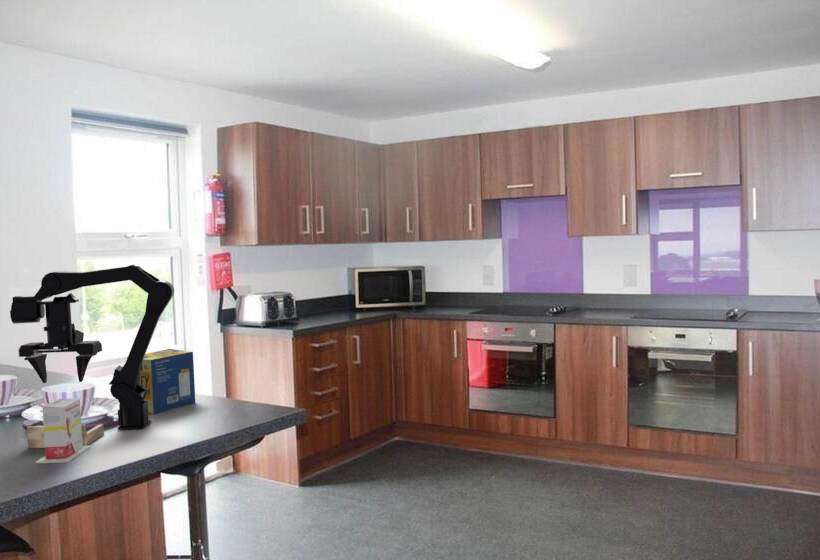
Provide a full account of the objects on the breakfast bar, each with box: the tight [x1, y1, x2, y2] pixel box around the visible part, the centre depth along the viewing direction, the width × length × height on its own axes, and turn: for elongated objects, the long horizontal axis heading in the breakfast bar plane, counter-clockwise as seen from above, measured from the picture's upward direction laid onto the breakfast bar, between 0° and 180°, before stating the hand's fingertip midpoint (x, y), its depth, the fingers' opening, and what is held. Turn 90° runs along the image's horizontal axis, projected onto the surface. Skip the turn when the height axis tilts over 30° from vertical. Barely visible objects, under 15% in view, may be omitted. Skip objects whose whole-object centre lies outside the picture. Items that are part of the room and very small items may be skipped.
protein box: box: [126, 348, 196, 415], centre depth 204 cm, size 10×15×16 cm
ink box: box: [42, 398, 83, 459], centre depth 160 cm, size 9×5×12 cm, turn 0°
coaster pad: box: [35, 445, 91, 464], centre depth 160 cm, size 7×11×1 cm, turn 0°
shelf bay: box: [26, 423, 105, 449], centre depth 172 cm, size 14×10×5 cm
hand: (63, 382), depth 179 cm, fingers open, 9 cm apart
